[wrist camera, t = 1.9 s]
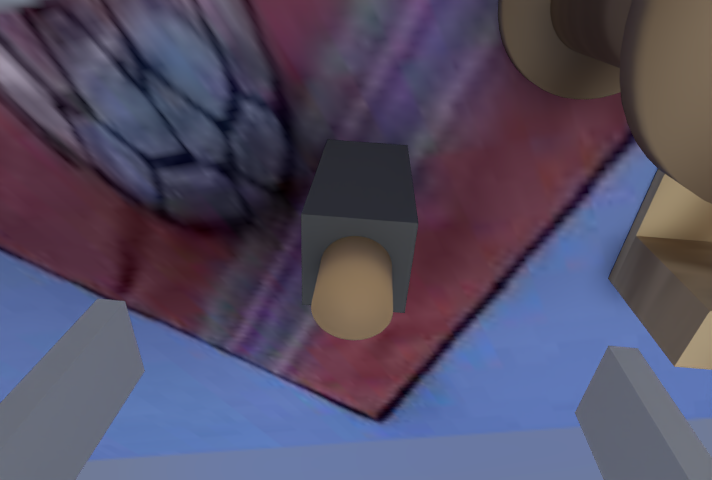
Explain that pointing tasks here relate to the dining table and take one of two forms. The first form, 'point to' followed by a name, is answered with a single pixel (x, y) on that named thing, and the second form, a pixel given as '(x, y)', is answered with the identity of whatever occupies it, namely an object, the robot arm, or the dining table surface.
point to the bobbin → (627, 69)
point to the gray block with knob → (358, 237)
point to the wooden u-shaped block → (671, 272)
